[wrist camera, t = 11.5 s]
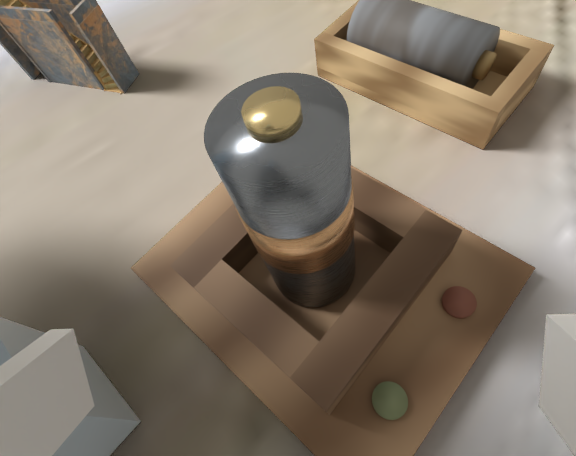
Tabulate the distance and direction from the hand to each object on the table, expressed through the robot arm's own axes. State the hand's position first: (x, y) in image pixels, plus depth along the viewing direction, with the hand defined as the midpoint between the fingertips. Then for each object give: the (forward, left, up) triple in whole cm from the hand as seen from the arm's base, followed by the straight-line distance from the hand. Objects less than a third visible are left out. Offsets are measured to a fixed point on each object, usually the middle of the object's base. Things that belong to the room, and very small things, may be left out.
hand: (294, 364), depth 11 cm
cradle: (-4, +5, -10) cm, 12 cm away
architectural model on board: (-35, +7, -10) cm, 37 cm away
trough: (-8, +22, -10) cm, 25 cm away
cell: (-4, +5, -8) cm, 11 cm away
